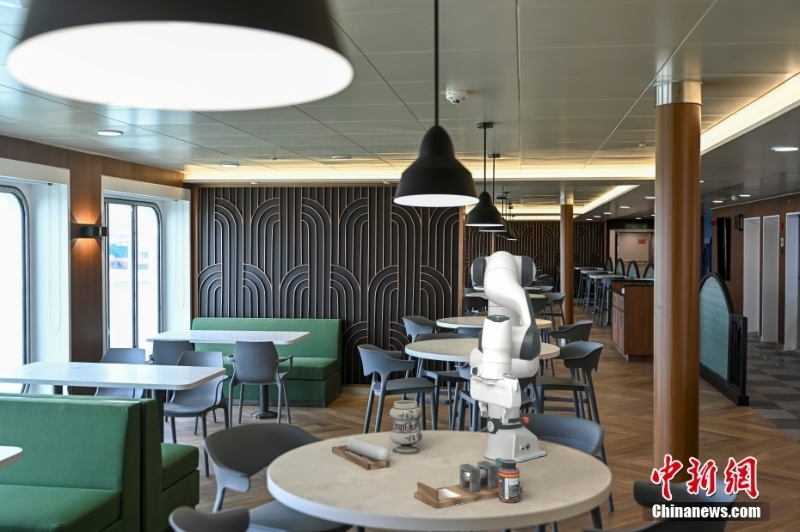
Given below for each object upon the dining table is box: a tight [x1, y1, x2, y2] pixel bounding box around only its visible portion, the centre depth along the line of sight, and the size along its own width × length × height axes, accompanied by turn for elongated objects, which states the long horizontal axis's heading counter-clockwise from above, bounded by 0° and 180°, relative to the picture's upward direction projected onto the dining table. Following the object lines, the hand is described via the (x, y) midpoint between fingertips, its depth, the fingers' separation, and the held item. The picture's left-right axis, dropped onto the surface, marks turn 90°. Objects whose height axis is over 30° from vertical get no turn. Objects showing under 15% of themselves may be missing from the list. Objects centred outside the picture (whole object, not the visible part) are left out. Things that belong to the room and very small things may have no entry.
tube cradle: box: [331, 444, 390, 471], centre depth 256 cm, size 8×28×2 cm, turn 30°
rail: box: [413, 460, 523, 510], centre depth 214 cm, size 30×12×8 cm, turn 120°
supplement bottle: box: [498, 459, 521, 504], centre depth 209 cm, size 6×6×11 cm
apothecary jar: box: [389, 399, 423, 455], centre depth 267 cm, size 12×12×18 cm
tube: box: [346, 436, 391, 461], centre depth 257 cm, size 5×5×25 cm
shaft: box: [463, 458, 505, 482], centre depth 217 cm, size 15×6×6 cm, turn 120°
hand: (494, 420), depth 211 cm, fingers open, 8 cm apart
